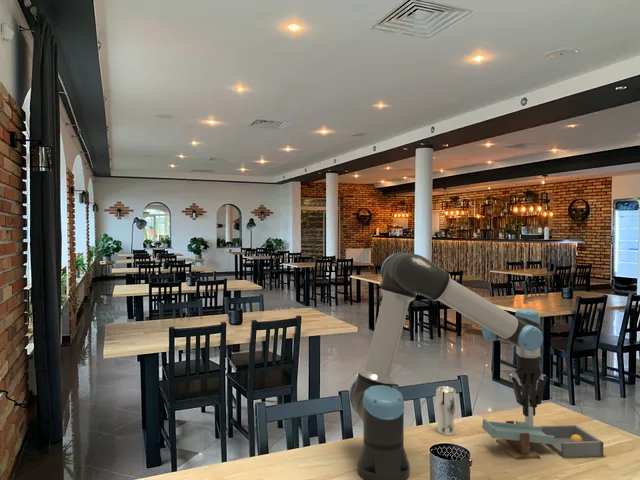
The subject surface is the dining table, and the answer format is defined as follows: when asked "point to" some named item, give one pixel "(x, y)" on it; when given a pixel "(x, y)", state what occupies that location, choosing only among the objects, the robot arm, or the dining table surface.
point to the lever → (516, 431)
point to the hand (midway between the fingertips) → (529, 425)
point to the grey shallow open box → (573, 449)
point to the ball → (576, 438)
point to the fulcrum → (518, 447)
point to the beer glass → (445, 409)
